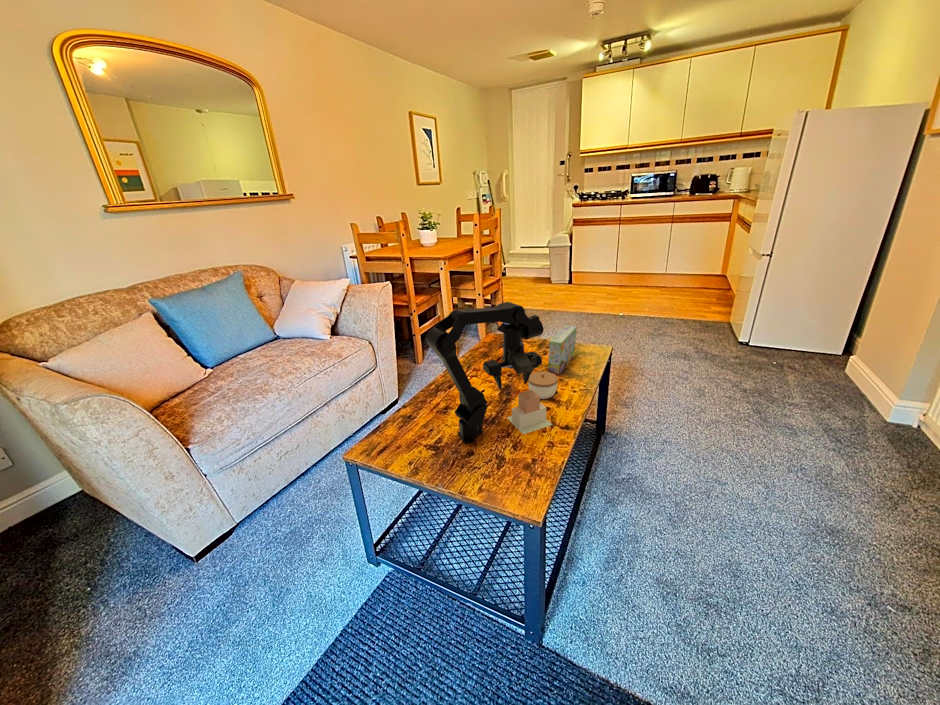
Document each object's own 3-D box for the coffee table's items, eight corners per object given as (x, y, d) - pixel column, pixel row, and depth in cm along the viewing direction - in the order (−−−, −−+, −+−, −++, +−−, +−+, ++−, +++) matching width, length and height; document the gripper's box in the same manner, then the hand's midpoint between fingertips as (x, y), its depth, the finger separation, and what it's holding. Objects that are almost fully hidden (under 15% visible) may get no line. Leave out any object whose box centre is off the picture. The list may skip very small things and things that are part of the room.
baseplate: (523, 436, 124) (523, 434, 124) (506, 420, 133) (506, 417, 133) (552, 427, 128) (552, 424, 128) (534, 411, 137) (534, 409, 137)
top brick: (526, 413, 125) (526, 400, 123) (518, 406, 129) (518, 393, 128) (539, 409, 127) (540, 396, 125) (531, 402, 131) (531, 389, 129)
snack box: (560, 376, 160) (561, 342, 154) (547, 374, 163) (548, 340, 157) (575, 357, 177) (577, 325, 171) (563, 355, 179) (564, 324, 173)
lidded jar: (558, 390, 150) (558, 368, 146) (556, 404, 141) (556, 381, 137) (530, 388, 153) (530, 366, 149) (526, 402, 143) (526, 379, 140)
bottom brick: (519, 429, 126) (519, 415, 124) (512, 421, 131) (511, 408, 129) (546, 420, 130) (546, 407, 128) (537, 413, 134) (537, 400, 132)
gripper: (496, 357, 113) (497, 404, 119) (552, 345, 119) (550, 391, 125) (481, 344, 123) (483, 388, 129) (533, 334, 129) (533, 377, 135)
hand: (512, 386), depth 129 cm, fingers open, 9 cm apart
